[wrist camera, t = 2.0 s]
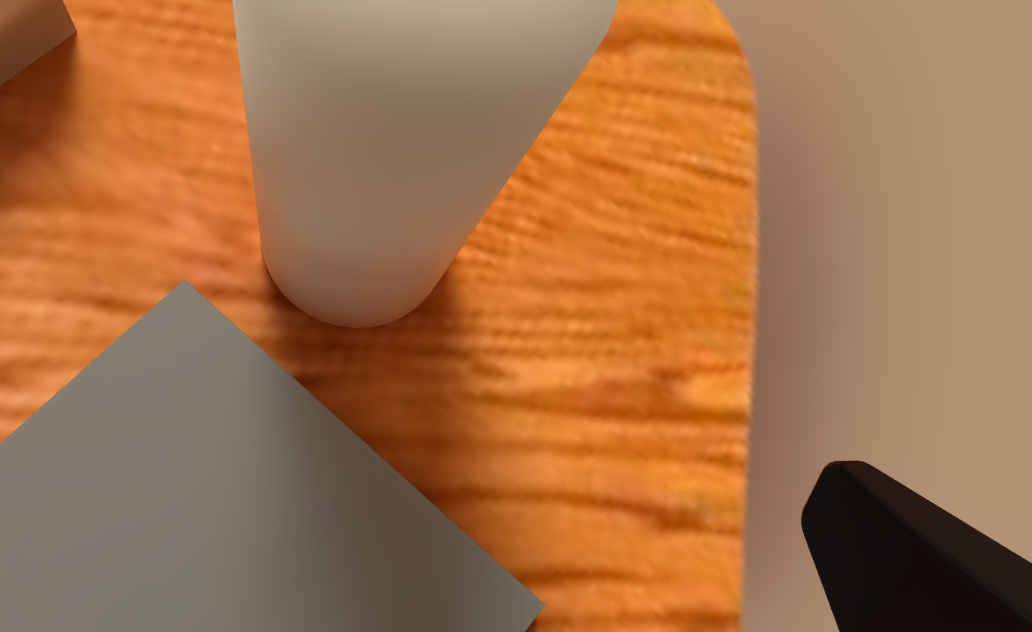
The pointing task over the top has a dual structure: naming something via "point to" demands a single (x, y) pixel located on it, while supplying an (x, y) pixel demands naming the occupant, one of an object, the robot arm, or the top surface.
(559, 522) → the top surface
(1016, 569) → the robot arm
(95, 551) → the slate board
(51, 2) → the birch block
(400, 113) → the cream bottle
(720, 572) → the top surface
